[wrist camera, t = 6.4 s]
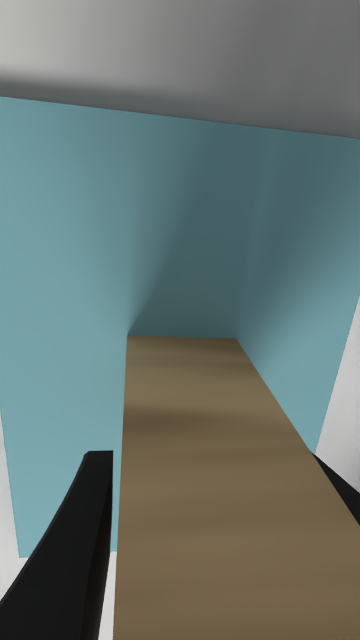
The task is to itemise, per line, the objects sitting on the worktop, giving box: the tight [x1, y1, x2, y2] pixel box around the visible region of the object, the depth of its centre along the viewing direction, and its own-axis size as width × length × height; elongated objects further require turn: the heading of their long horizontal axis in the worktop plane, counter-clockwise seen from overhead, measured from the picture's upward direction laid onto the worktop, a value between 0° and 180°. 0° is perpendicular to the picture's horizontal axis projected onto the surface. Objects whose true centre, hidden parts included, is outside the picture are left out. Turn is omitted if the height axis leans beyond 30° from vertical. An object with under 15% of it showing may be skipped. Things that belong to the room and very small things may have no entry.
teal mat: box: [0, 96, 360, 558], centre depth 13 cm, size 18×13×1 cm
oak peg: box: [113, 336, 360, 640], centre depth 9 cm, size 4×4×9 cm
